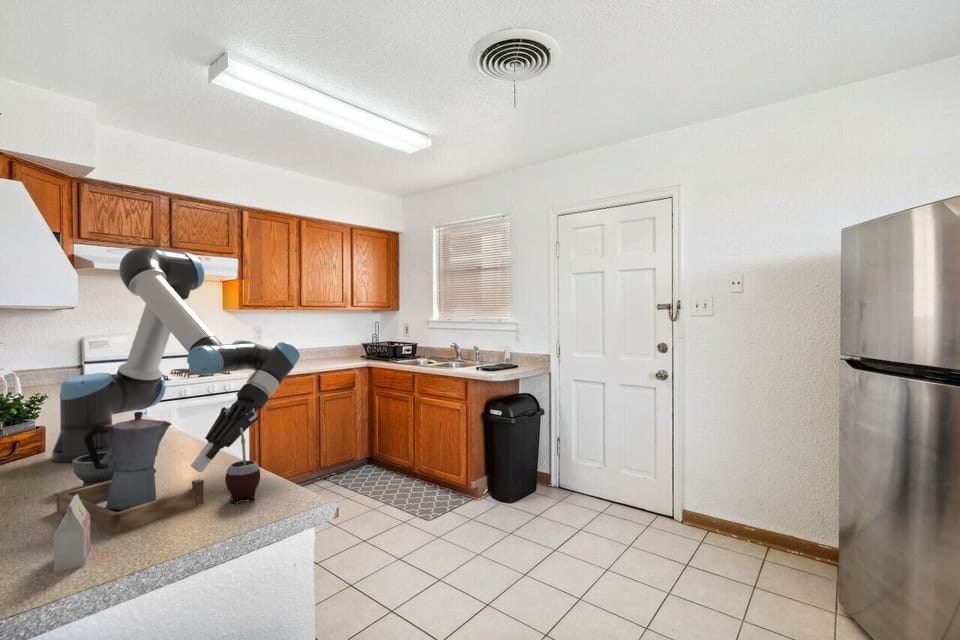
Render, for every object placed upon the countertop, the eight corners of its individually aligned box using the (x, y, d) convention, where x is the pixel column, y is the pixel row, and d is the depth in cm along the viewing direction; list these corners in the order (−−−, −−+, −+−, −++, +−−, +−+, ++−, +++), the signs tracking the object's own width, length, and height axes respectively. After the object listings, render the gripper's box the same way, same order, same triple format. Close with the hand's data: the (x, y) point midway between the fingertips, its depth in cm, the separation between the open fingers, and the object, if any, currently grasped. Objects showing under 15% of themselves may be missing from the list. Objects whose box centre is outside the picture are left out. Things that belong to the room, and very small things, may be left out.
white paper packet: (53, 572, 75) (53, 510, 75) (62, 554, 81) (62, 496, 81) (83, 565, 77) (83, 505, 77) (90, 548, 83) (89, 492, 83)
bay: (146, 485, 114) (146, 464, 114) (203, 503, 103) (203, 480, 103) (56, 511, 98) (56, 487, 98) (113, 535, 88) (113, 508, 88)
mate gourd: (243, 507, 101) (243, 437, 101) (214, 502, 103) (214, 434, 103) (268, 494, 108) (268, 429, 108) (240, 490, 110) (241, 427, 110)
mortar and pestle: (69, 495, 107) (69, 443, 107) (74, 483, 114) (74, 434, 114) (131, 485, 113) (131, 436, 113) (132, 474, 121) (132, 428, 121)
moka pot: (178, 499, 105) (178, 410, 105) (90, 522, 93) (90, 421, 93) (163, 489, 111) (163, 404, 111) (79, 509, 99) (79, 415, 99)
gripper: (282, 401, 127) (223, 481, 113) (250, 397, 133) (191, 472, 119) (264, 384, 122) (201, 465, 108) (233, 380, 129) (169, 457, 114)
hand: (196, 469), depth 113 cm, fingers closed
